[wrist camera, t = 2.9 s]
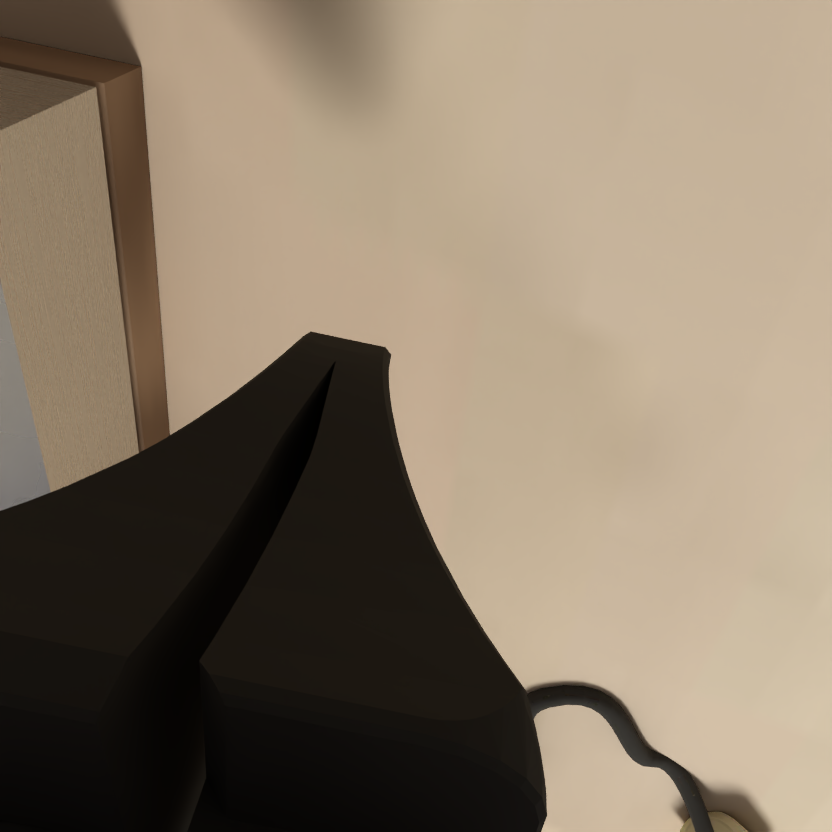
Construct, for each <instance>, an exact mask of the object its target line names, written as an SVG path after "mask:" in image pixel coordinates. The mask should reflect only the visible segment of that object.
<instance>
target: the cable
mask: <svg viewBox="0 0 832 832" xmlns="http://www.w3.org/2000/svg"><path fill="white" fill-rule="evenodd" d="M527 697H528V700H529V704H530V708H531V712H532V716H533V719H534V717H535V716H536V714H537V713H539V712H540V711H541V710H544V709H547V708H549V707H555V706H562V705H582V706H585V707H589V708H592V709H593V710H595V711H596V712H598V713H600V714H601V715H602V716H603V717H604V718H605V719H606V720H607V722H608V723H609V724H610V726H611V727H612V729H613V730H614V732H615V734H616V735H617V737H618V739H619V741H620V742H621V744H622V746H623V747H624V749H625V751H626V752H627V754H628V755H629V756H630V757H631V758H632V759H633V760H634V761H635V762H637V763H638V764H640V765H642V766H647V767H658V768H661V769H662V770H664V771H665V772H666V773H667V774H668V775H669V776H670V777H671V779H672V780H673V781H674V783H675V785H676V786H677V788H678V790H679V792H680V794H681V796H682V798H683V800H684V802H685V805H686V807H687V810H688V812H689V815H690V818H689V819H687V821H686V822H685V823H684V825H683V826H682V828H681V830H680V832H748V831H747V830H746V829H745V828H744V827H743V826H741V825H740V824H739V823H738V822H737V821H736V820H735V819H733V818H732V817H730V816H728V815H727V814H724V813H722V812H707V810H706V807H705V804H704V802H703V799H702V797H701V795H700V793H699V790H698V788H697V786H696V784H695V782H694V781H693V779H692V777H691V775H690V774H689V773H688V772H687V771H686V770H685V769H684V768H683V767H681V766H680V765H679V764H677V763H676V762H674V761H673V760H671V759H669V758H668V757H666V756H664V755H662V754H659V753H657V752H655V751H653V750H650V749H649V748H648V747H646V746H645V745H644V744H643V743H642V741H641V740H640V738H639V736H638V734H637V732H636V730H635V729H634V727H633V725H632V723H631V721H630V720H629V718H628V716H627V715H626V713H625V712H624V711H623V709H622V708H621V707H620V705H619V704H617V703H616V702H615V701H614V700H613V699H612V698H611V697H610V696H608V695H606V694H605V693H603V692H601V691H599V690H596V689H592V688H589V687H585V686H570V685H562V686H555V687H548V688H542V689H539V690H536V691H533V692H531V693H529V694H528V695H527Z"/></svg>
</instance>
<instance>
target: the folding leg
mask: <svg viewBox="0 0 832 832" xmlns="http://www.w3.org/2000/svg"><path fill="white" fill-rule="evenodd" d="M138 453H139V450H138V441H137V433H136V424H135V416H134V407H133V399H132V390H131V381H130V373H129V364H128V356H127V347H126V339H125V330H124V322H123V313H122V304H121V296H120V287H119V279H118V270H117V262H116V253H115V244H114V236H113V227H112V219H111V210H110V202H109V193H108V185H107V176H106V167H105V159H104V150H103V142H102V133H101V125H100V116H99V108H98V99H97V90H96V87H94V86H89V85H84V84H79V83H75V82H70V81H65V80H61V79H56V78H51V77H46V76H42V75H37V74H32V73H28V72H23V71H18V70H13V69H9V68H4V67H0V511H1V510H4V509H7V508H10V507H13V506H15V505H18V504H21V503H24V502H27V501H29V500H32V499H35V498H37V497H40V496H42V495H45V494H48V493H50V492H53V491H55V490H58V489H60V488H63V487H65V486H68V485H70V484H72V483H75V482H77V481H79V480H81V479H83V478H86V477H88V476H90V475H92V474H95V473H97V472H99V471H101V470H103V469H106V468H108V467H110V466H112V465H115V464H117V463H119V462H121V461H123V460H126V459H128V458H130V457H132V456H134V455H136V454H138Z"/></svg>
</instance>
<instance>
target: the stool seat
mask: <svg viewBox="0 0 832 832" xmlns="http://www.w3.org/2000/svg"><path fill="white" fill-rule="evenodd" d="M0 67H4V68H9V69H13V70H18V71H23V72H28V73H32V74H37V75H42V76H46V77H51V78H56V79H61V80H65V81H70V82H75V83H79V84H84V85H89V86H94V87H96V90H97V99H98V108H99V116H100V125H101V133H102V142H103V150H104V159H105V167H106V176H107V185H108V193H109V202H110V210H111V219H112V227H113V236H114V244H115V253H116V262H117V270H118V279H119V287H120V296H121V304H122V313H123V322H124V330H125V339H126V347H127V356H128V364H129V373H130V381H131V390H132V399H133V407H134V416H135V424H136V433H137V441H138V450H139V452H141V451H143V450H145V449H147V448H149V447H150V446H152V445H154V444H156V443H158V442H160V441H161V440H163V439H165V438H166V437H168V436H170V435H169V422H168V409H167V396H166V383H165V370H164V357H163V345H162V332H161V319H160V306H159V293H158V280H157V267H156V254H155V241H154V228H153V215H152V202H151V189H150V176H149V163H148V150H147V137H146V124H145V111H144V98H143V85H142V72H141V67H140V66H136V65H131V64H126V63H122V62H117V61H112V60H107V59H103V58H98V57H93V56H89V55H84V54H79V53H75V52H70V51H65V50H60V49H56V48H51V47H46V46H42V45H37V44H32V43H27V42H23V41H18V40H13V39H9V38H4V37H0Z"/></svg>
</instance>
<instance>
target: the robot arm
mask: <svg viewBox="0 0 832 832" xmlns="http://www.w3.org/2000/svg"><path fill="white" fill-rule="evenodd" d="M390 358H391V354H390V353H389V352H388V350H387V349H386V347H381V346H377V345H372V344H367V343H362V342H357V341H353V340H348V339H343V338H338V337H334V336H329V335H324V334H319V333H315V332H310V333H308V334H306V335H305V336H303V337H302V338H301V339H300V340H299V341H297V342H296V343H295V344H294V345H293V346H292V347H291V348H289V349H288V350H287V351H286V352H285V353H284V354H283V355H281V356H280V357H279V358H278V359H277V360H275V361H274V362H273V363H272V364H271V365H269V366H268V367H267V368H266V369H265V370H263V371H262V372H261V373H260V374H258V375H257V376H256V377H254V378H253V379H252V380H250V381H249V382H248V383H247V384H245V385H244V386H243V387H241V388H240V389H239V390H237V391H236V392H235V393H233V394H232V395H231V396H229V397H228V398H227V399H225V400H224V401H222V402H221V403H219V404H218V405H216V406H215V407H213V408H212V409H210V410H209V411H207V412H206V413H204V414H203V415H201V416H200V417H199V418H197V419H196V420H194V421H193V422H191V423H190V424H188V425H186V426H185V427H183V428H181V429H180V430H178V431H177V432H175V433H173V434H172V435H170V436H168V437H166V438H165V439H163V440H161V441H160V442H158V443H156V444H154V445H152V446H150V447H149V448H147V449H145V450H143V451H141V452H139V453H138V454H136V455H134V456H132V457H130V458H128V459H126V460H123V461H121V462H119V463H117V464H115V465H112V466H110V467H108V468H106V469H103V470H101V471H99V472H97V473H95V474H92V475H90V476H88V477H86V478H83V479H81V480H79V481H77V482H75V483H72V484H70V485H68V486H65V487H63V488H60V489H58V490H55V491H53V492H50V493H48V494H45V495H42V496H40V497H37V498H35V499H32V500H29V501H27V502H24V503H21V504H18V505H15V506H13V507H10V508H7V509H4V510H1V511H0V832H541V830H542V827H543V825H544V822H545V819H546V817H547V808H546V787H545V778H544V771H543V765H542V758H541V752H540V747H539V742H538V737H537V732H536V728H535V724H534V720H533V716H532V712H531V708H530V704H529V700H528V697H527V693H526V690H525V689H524V687H523V686H522V685H521V683H520V682H519V680H518V679H517V678H516V676H515V675H514V674H513V672H512V671H511V669H510V668H509V667H508V665H507V664H506V662H505V661H504V660H503V658H502V657H501V655H500V654H499V652H498V651H497V649H496V648H495V646H494V645H493V643H492V642H491V640H490V639H489V638H488V636H487V635H486V633H485V632H484V630H483V628H482V627H481V625H480V623H479V622H478V620H477V619H476V617H475V615H474V614H473V612H472V610H471V609H470V607H469V606H468V604H467V602H466V601H465V599H464V598H463V596H462V594H461V592H460V590H459V588H458V586H457V584H456V583H455V581H454V579H453V577H452V575H451V573H450V571H449V569H448V568H447V566H446V564H445V562H444V560H443V558H442V556H441V554H440V552H439V551H438V549H437V547H436V545H435V542H434V540H433V538H432V536H431V533H430V531H429V529H428V527H427V524H426V522H425V520H424V517H423V515H422V512H421V510H420V507H419V505H418V502H417V500H416V497H415V494H414V492H413V489H412V486H411V483H410V480H409V477H408V474H407V471H406V467H405V464H404V460H403V457H402V453H401V450H400V446H399V442H398V438H397V433H396V428H395V423H394V418H393V413H392V407H391V401H390V391H389V364H390Z"/></svg>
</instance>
